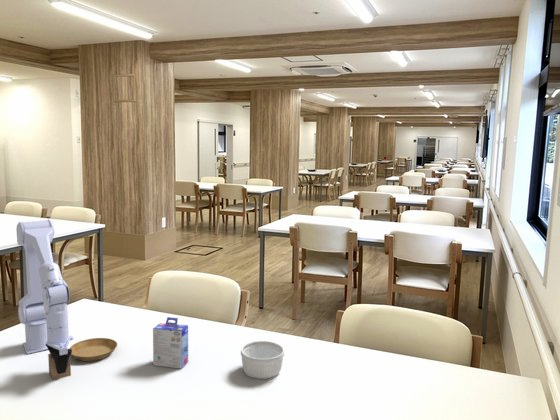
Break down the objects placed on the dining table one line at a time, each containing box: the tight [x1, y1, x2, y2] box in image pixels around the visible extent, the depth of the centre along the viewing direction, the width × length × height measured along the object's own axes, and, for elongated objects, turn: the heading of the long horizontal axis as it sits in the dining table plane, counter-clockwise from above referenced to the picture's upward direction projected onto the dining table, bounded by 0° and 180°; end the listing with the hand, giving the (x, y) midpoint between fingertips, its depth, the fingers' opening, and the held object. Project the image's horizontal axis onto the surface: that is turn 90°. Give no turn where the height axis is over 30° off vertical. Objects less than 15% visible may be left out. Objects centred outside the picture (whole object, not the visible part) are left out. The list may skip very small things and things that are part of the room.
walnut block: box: [47, 353, 72, 381], centre depth 139 cm, size 5×5×6 cm
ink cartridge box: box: [152, 316, 189, 369], centre depth 147 cm, size 10×6×14 cm, turn 78°
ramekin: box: [240, 340, 285, 380], centre depth 143 cm, size 13×13×7 cm
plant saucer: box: [68, 337, 118, 362], centre depth 154 cm, size 15×15×3 cm
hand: (59, 369), depth 139 cm, fingers closed on walnut block, 5 cm apart
